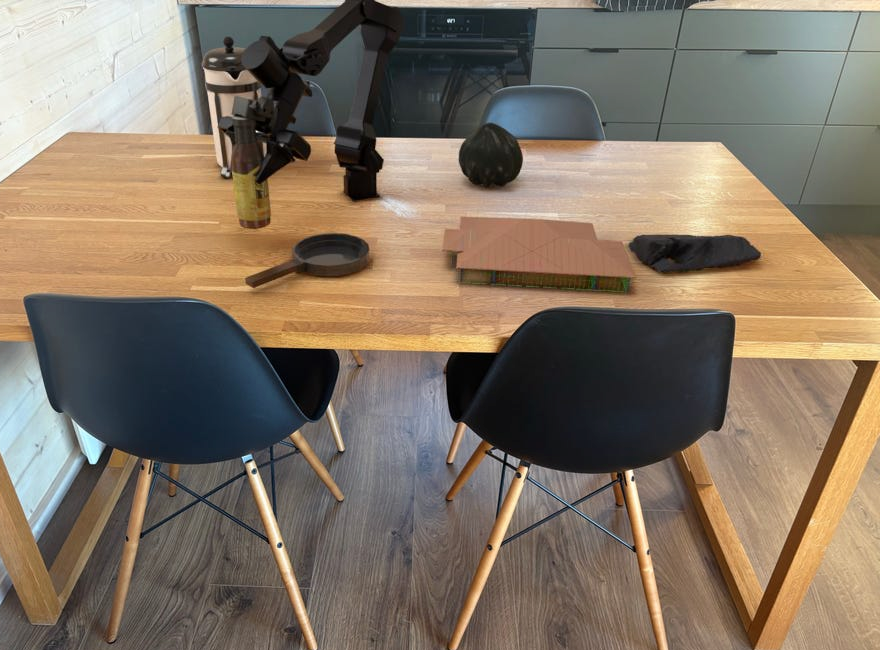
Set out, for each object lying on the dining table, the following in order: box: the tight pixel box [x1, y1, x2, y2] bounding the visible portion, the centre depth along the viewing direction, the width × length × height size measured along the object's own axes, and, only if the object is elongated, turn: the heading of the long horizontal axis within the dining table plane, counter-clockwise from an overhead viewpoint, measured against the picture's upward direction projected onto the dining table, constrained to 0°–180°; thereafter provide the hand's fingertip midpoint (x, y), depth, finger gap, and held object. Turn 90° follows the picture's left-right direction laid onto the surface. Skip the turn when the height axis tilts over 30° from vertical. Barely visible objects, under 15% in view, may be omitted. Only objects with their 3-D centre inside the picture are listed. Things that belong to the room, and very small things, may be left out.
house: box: [441, 216, 637, 293], centre depth 128 cm, size 23×33×8 cm
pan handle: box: [244, 258, 306, 289], centre depth 121 cm, size 11×3×2 cm, turn 135°
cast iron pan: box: [291, 232, 371, 277], centre depth 128 cm, size 14×14×2 cm
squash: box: [458, 122, 524, 188], centre depth 162 cm, size 14×15×15 cm
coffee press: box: [201, 36, 267, 179], centre depth 164 cm, size 17×16×30 cm
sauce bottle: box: [231, 115, 272, 230], centre depth 127 cm, size 6×6×20 cm
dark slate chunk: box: [628, 234, 762, 274], centre depth 131 cm, size 15×22×5 cm
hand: (244, 179), depth 127 cm, fingers closed on sauce bottle, 6 cm apart
